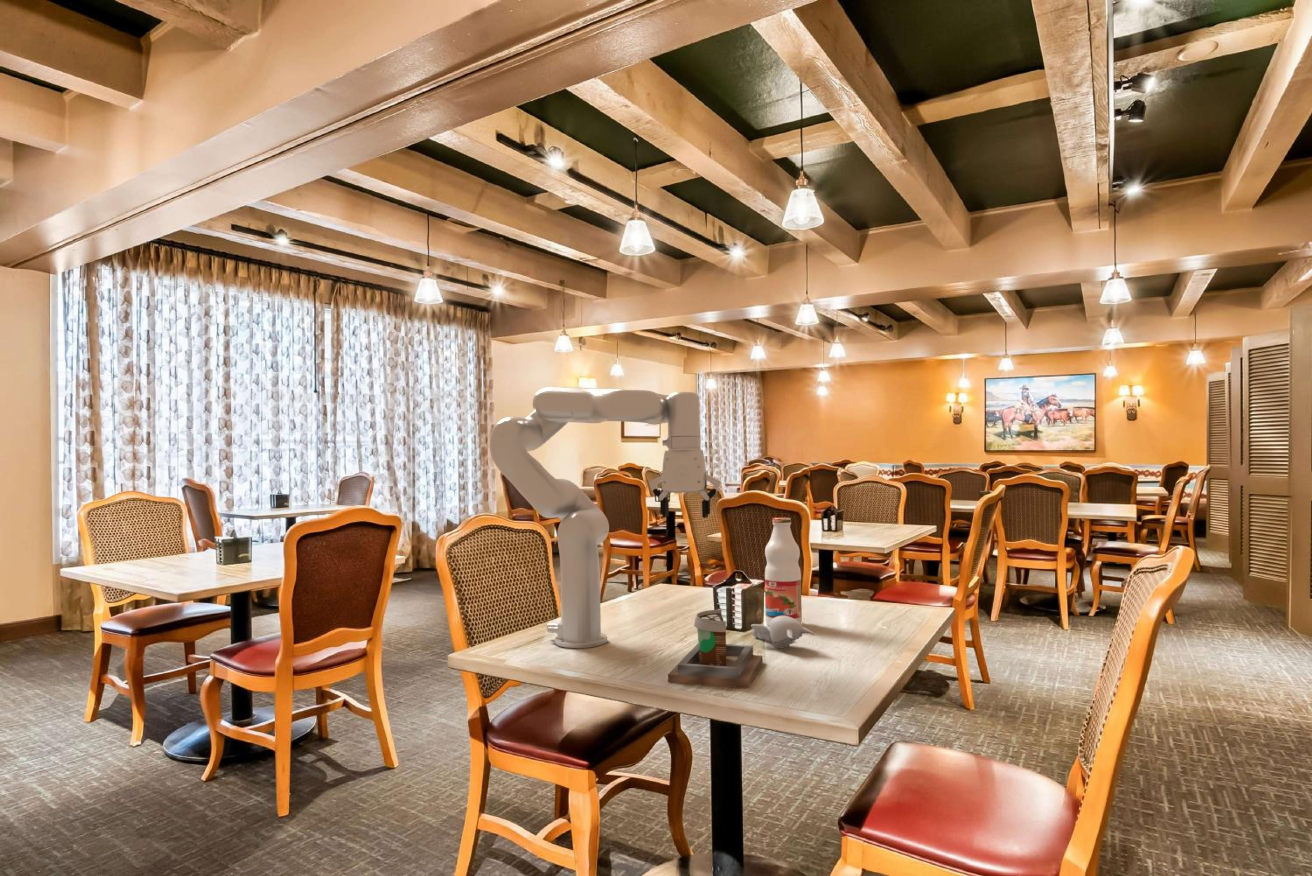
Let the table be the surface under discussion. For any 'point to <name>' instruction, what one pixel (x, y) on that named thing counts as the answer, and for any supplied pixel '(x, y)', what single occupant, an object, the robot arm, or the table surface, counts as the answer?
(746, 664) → the square wooden tray
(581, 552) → the robot arm
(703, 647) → the food container
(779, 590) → the fruit juice
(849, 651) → the table surface
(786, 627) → the toy creature
